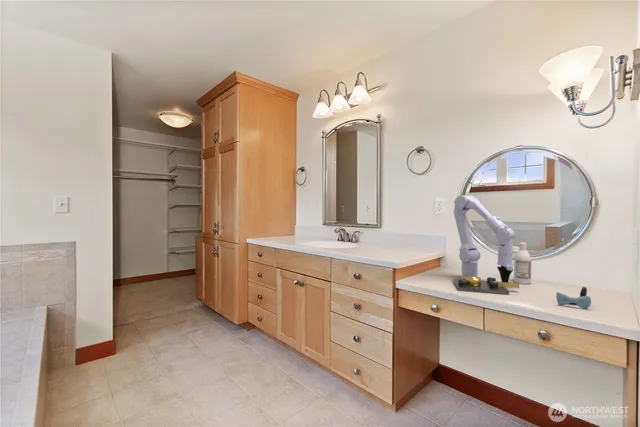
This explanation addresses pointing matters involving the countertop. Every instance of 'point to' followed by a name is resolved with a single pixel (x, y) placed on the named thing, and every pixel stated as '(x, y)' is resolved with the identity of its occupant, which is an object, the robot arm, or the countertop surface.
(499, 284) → the wooden stick
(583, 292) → the compass
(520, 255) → the bath foam
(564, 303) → the bow tie
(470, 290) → the plate
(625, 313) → the countertop surface
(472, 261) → the robot arm
